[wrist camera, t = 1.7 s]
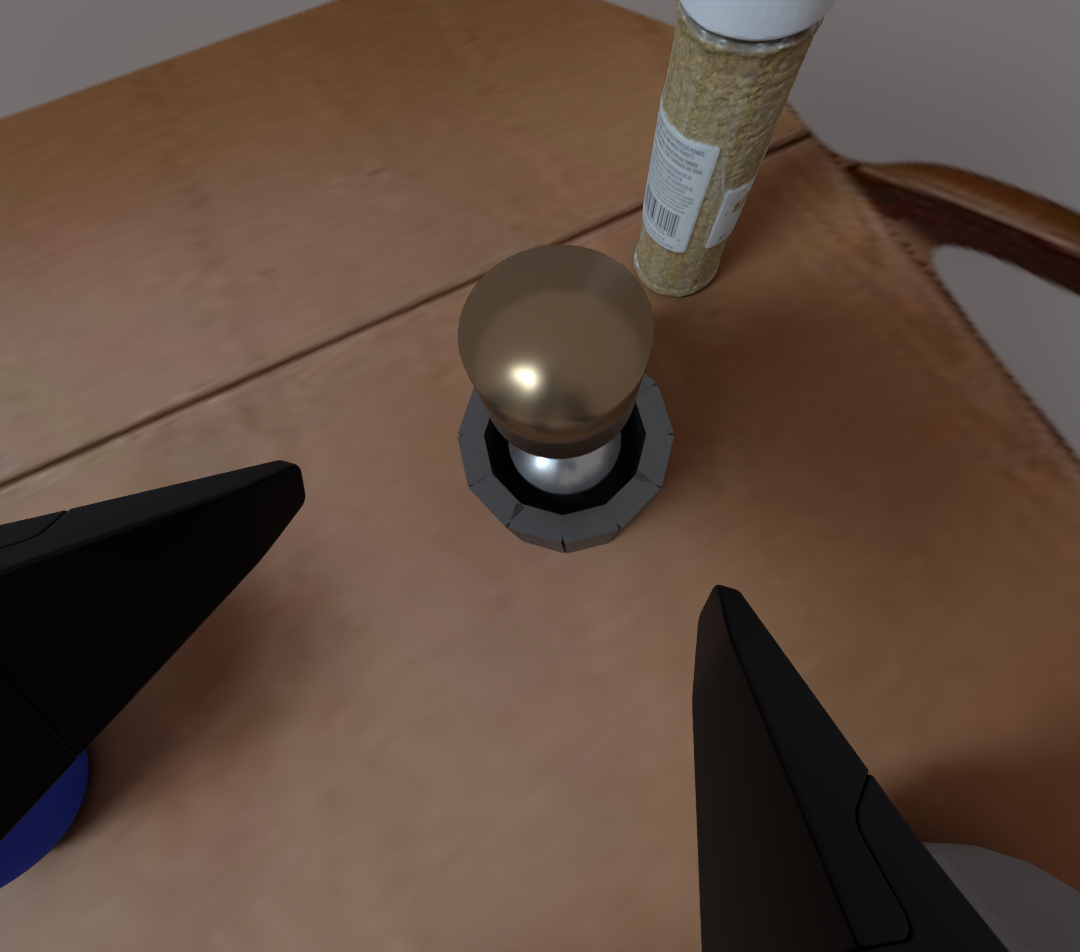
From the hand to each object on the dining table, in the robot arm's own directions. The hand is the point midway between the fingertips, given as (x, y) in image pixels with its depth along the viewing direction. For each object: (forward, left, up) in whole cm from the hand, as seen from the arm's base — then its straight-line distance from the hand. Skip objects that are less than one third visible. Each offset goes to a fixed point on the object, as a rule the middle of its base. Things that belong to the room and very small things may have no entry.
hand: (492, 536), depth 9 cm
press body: (+5, -4, -12) cm, 13 cm away
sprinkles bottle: (+12, -13, -12) cm, 21 cm away
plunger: (+4, -3, -8) cm, 9 cm away
